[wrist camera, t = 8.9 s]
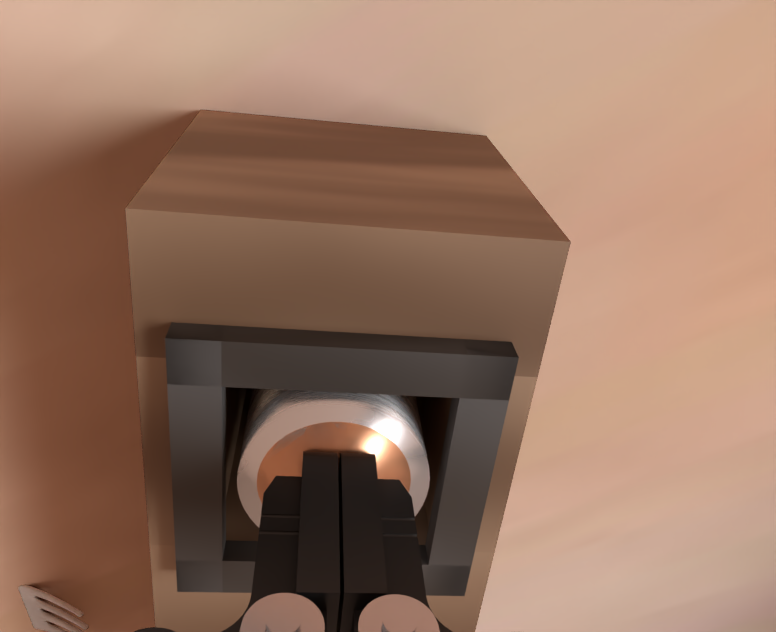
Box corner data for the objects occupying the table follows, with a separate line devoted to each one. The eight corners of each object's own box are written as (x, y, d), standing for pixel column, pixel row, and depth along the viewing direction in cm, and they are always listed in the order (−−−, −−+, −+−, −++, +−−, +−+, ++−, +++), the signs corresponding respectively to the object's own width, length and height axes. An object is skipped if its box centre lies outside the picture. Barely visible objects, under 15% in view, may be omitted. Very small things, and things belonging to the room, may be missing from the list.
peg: (268, 247, 20) (237, 400, 13) (406, 257, 20) (442, 409, 14) (265, 365, 22) (236, 551, 15) (391, 371, 22) (416, 554, 16)
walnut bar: (200, 109, 19) (115, 220, 12) (486, 135, 20) (580, 254, 12) (210, 642, 29) (168, 886, 22) (398, 643, 30) (421, 878, 23)
